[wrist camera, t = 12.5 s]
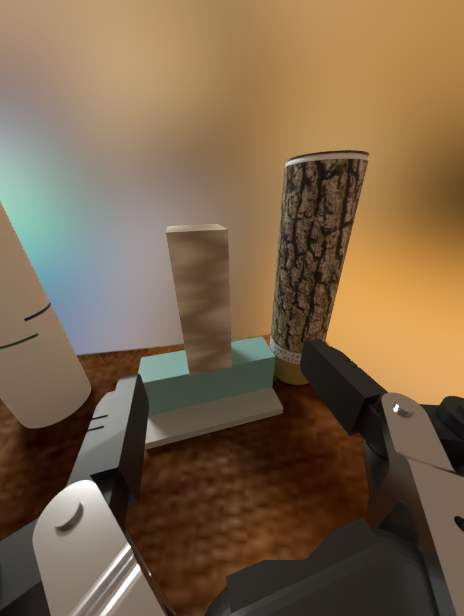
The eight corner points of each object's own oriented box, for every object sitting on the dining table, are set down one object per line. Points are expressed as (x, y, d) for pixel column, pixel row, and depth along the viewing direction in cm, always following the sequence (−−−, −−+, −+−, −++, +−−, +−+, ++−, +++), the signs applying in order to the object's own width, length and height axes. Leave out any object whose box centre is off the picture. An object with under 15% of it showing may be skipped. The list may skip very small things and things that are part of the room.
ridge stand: (145, 449, 20) (130, 411, 17) (154, 376, 29) (144, 342, 26) (282, 413, 23) (288, 375, 21) (253, 356, 32) (254, 324, 29)
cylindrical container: (103, 381, 28) (6, 163, 17) (58, 432, 22) (-149, 141, 10) (58, 376, 29) (-64, 167, 17) (2, 424, 23) (-245, 149, 11)
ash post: (189, 376, 21) (166, 232, 14) (187, 348, 25) (167, 226, 18) (231, 367, 22) (227, 229, 15) (223, 342, 26) (216, 223, 19)
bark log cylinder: (327, 381, 27) (390, 152, 16) (281, 393, 26) (315, 148, 14) (299, 350, 33) (330, 165, 21) (260, 358, 32) (272, 164, 20)
